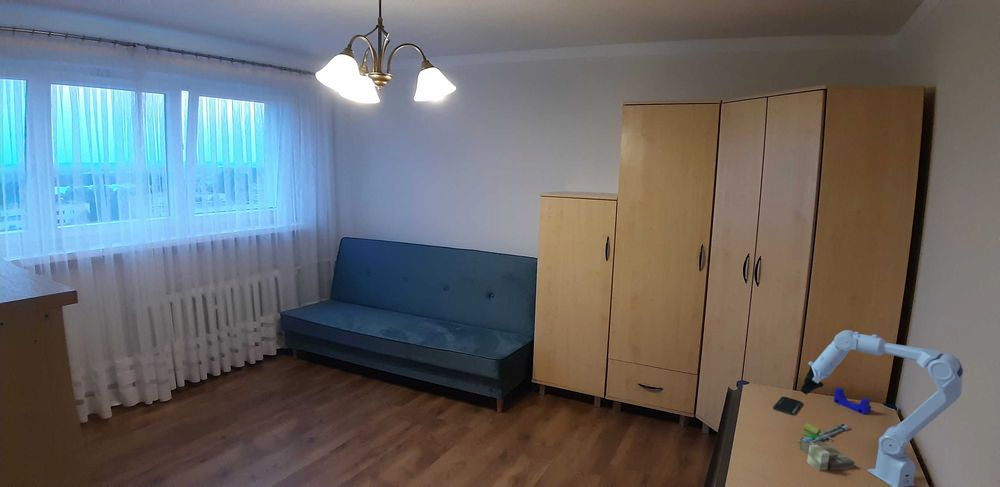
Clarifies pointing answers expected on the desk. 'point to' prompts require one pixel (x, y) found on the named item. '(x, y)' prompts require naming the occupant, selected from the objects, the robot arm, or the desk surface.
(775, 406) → the phone
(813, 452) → the joiner mallet
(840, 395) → the blue u-shaped bracket
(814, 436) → the flamethrower
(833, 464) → the brown flat block
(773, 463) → the desk surface
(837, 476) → the desk surface
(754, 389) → the desk surface
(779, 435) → the desk surface
